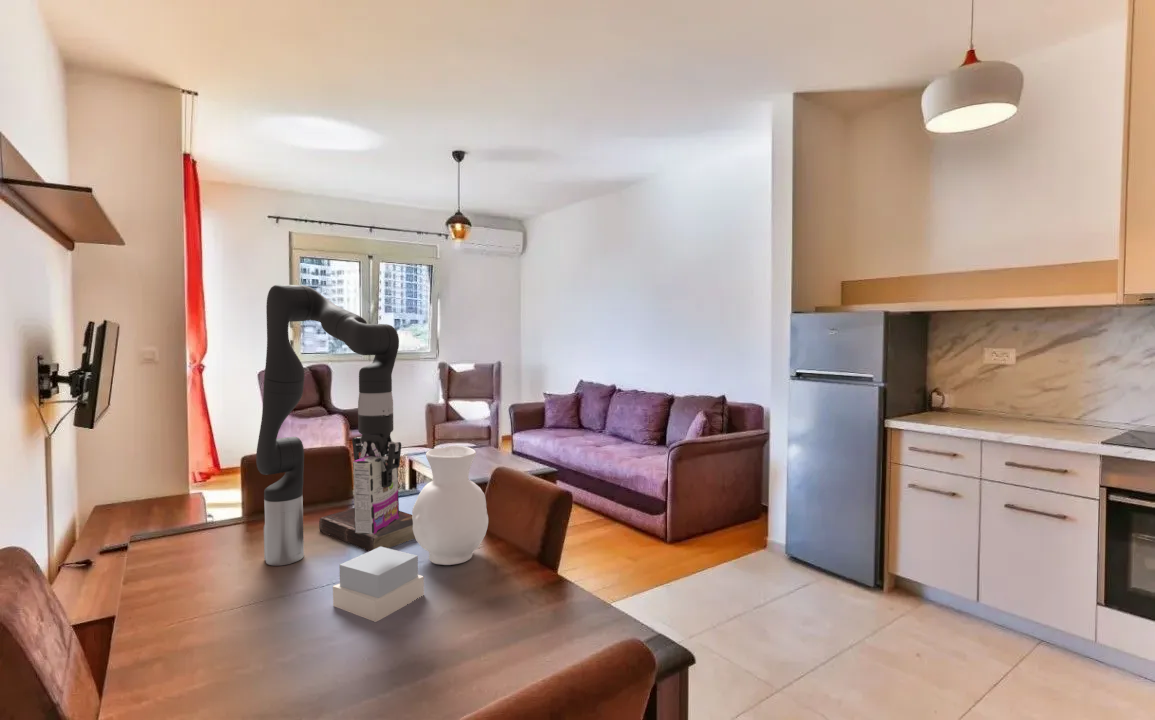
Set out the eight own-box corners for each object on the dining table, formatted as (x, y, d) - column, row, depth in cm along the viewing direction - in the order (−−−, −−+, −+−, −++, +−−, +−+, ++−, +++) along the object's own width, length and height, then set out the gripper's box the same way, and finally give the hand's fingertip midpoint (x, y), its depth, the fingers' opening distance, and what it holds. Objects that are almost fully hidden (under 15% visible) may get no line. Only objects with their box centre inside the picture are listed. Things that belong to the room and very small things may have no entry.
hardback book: (319, 532, 173) (319, 516, 172) (373, 516, 188) (373, 502, 187) (373, 555, 155) (373, 537, 155) (427, 535, 170) (427, 519, 170)
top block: (339, 586, 125) (339, 564, 125) (380, 566, 136) (380, 546, 135) (378, 598, 120) (378, 575, 119) (417, 576, 130) (417, 555, 130)
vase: (438, 582, 137) (437, 462, 136) (401, 556, 153) (400, 449, 152) (501, 562, 149) (501, 452, 148) (461, 540, 166) (461, 440, 164)
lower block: (333, 607, 125) (332, 586, 125) (382, 583, 137) (382, 563, 137) (375, 624, 118) (375, 601, 118) (424, 597, 131) (423, 576, 130)
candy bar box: (380, 517, 133) (379, 449, 132) (399, 518, 132) (399, 450, 131) (352, 533, 122) (351, 460, 121) (373, 535, 121) (372, 461, 120)
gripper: (340, 411, 126) (342, 484, 127) (384, 416, 119) (385, 493, 120) (368, 407, 133) (369, 476, 133) (411, 412, 125) (411, 485, 126)
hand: (376, 484), depth 127 cm, fingers closed on candy bar box, 6 cm apart
